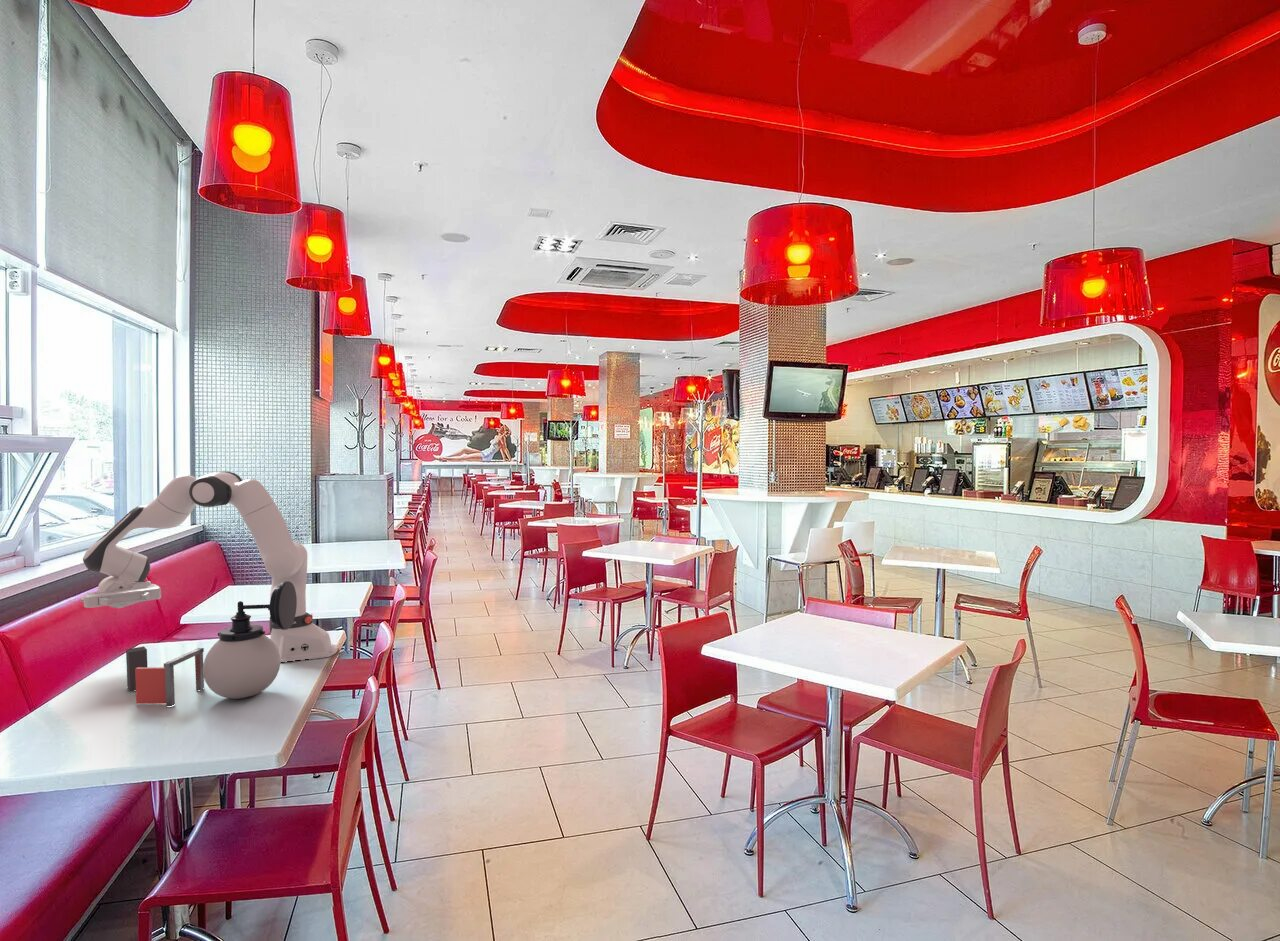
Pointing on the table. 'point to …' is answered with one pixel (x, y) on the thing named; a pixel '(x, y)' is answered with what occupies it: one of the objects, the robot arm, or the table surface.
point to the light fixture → (249, 649)
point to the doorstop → (135, 664)
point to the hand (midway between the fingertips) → (127, 600)
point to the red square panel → (150, 685)
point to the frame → (170, 673)
